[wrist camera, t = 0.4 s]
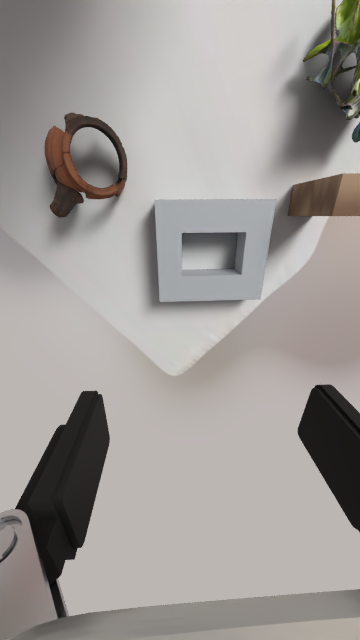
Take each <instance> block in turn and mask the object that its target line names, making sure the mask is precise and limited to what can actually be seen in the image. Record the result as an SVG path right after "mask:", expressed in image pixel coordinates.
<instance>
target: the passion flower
mask: <svg viewBox="0 0 360 640" xmlns="http://www.w3.org/2000/svg"><path fill="white" fill-rule="evenodd" d="M331 14H332V18H331V39H330V40H328V41H326V42H324V43H323V44H320V45H318V46H316V47H315V48H314V49H313V50H311V51H310V52H309V53H308V55H307V56H306V57H305V58H304V60H303V62H305V61H306V60H308V59H310V58H312V57H314V56H316V55H318V54H322V53H324V54H327V55H328V56H329V62H328V64H327V65H326V66H325V67H323V68H322V69H321V71H320V72H319V73H318V74H317V75H316V76H314V77H307V80H310V81H315V82H318V83H321V85H322V87H323V88H324V89H325V88H328V89H329V90H330V92H331V93H332V95H333V96H334V97H335V99H336V101H337V104H338V105H339V107H340V108H341V109H343V112H345V119H347V120H351V119H352V118H358V117H359V116H360V0H343V1H342V3H341V4H340V5H339V6H338V7H337V10H336V13H335V0H332V12H331ZM334 16H335V20H334ZM334 26H335V28H336V35H337V37H336V39H334ZM336 51H340V53H341V60H340V62H339V64H338V66H337V67H336V69H335V70H334V71H333V72H332V62H333V56H334V54H335V52H336ZM352 52H354V53H355V55H356V60H357V65H356V66H353V67H349V68H346V69H343V68H342V64H343V62H344V60H345V59H346V58H347V56H348V55H349V54H351V53H352ZM354 68H356V69H355V73H354V79H353V82H352V91H351V95H350V97H349V98H347V99H346V100H345V101H344V102H342V101H341V100H340V99H339V96H338V94H337V93H336V92H335V90H334V88H333V87H332V82H333V80H334V78H335V77H336V76H337V75H338V74H340V73H343V72H346V71H349V70H351V69H354ZM352 139H353V141H354V142H358V141H360V123H359V124H358V125H357V126H356V128H355V129H354V131H353V134H352Z"/></svg>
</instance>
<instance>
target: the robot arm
mask: <svg viewBox="0 0 360 640" xmlns="http://www.w3.org/2000/svg"><path fill="white" fill-rule="evenodd" d="M298 435H299V437H300V439H301V441H302V443H303V444H304V446H305V448H306V449H307V451H308V453H309V454H310V456H311V458H312V459H313V461H314V463H315V464H316V466H317V467H318V469H319V471H320V473H321V474H322V476H323V478H324V479H325V481H326V483H327V484H328V486H329V488H330V489H331V491H332V493H333V494H334V496H335V498H336V499H337V501H338V503H339V504H340V506H341V508H342V509H343V511H344V513H345V515H346V516H347V518H348V520H349V521H350V523H351V524H352V526H353V527H354V528H356V529H358V530H359V532H360V413H359V412H358V411H357V410H356V409H355V408H354V407H353V406H352V405H351V404H350V403H349V402H348V401H347V400H346V399H345V398H344V397H343V396H342V395H341V394H340V393H339V392H338V391H337V390H336V388H335V387H333V386H332V385H316V386H315V387H314V388H313V389H312V390H311V393H310V396H309V399H308V401H307V404H306V407H305V410H304V413H303V416H302V418H301V421H300V424H299V427H298ZM109 440H110V438H109V431H108V425H107V420H106V414H105V409H104V404H103V397H102V395H101V394H98V392H97V391H83V392H82V393H81V395H80V397H79V399H78V401H77V403H76V405H75V407H74V409H73V411H72V413H71V415H70V417H69V419H68V421H67V423H66V425H60V426H59V427H58V428H57V429H56V431H55V433H54V435H53V437H52V439H51V441H50V442H49V445H48V447H47V448H46V450H45V452H44V454H43V456H42V458H41V460H40V462H39V464H38V466H37V468H36V469H35V471H34V473H33V475H32V477H31V479H30V481H29V483H28V485H27V487H26V489H25V491H24V493H23V495H22V496H21V498H20V500H19V502H18V504H17V506H16V508H15V509H11V510H8V511H4V512H2V513H0V640H360V589H358V590H344V591H332V592H331V591H330V592H317V593H306V594H292V595H279V596H267V597H255V598H243V599H230V600H218V601H206V602H194V603H184V604H171V605H160V606H148V607H138V608H129V609H120V610H111V611H102V612H93V613H86V614H81V615H75V616H70V617H69V615H68V611H67V608H66V604H65V601H64V598H63V594H62V591H61V587H60V584H59V581H58V578H59V576H60V575H61V573H62V570H63V566H64V563H65V560H71V559H75V555H76V552H77V548H81V547H82V546H83V543H84V541H85V537H86V533H87V529H88V525H89V521H90V517H91V513H92V509H93V505H94V501H95V497H96V494H97V489H98V486H99V482H100V478H101V474H102V470H103V466H104V462H105V458H106V454H107V450H108V446H109Z"/></svg>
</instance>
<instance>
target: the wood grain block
mask: <svg viewBox="0 0 360 640" xmlns="http://www.w3.org/2000/svg"><path fill="white" fill-rule="evenodd" d="M288 216H360V174H339V175H335V176H331V177H326V178H322V179H318V180H313V181H309V182H305V183H300V184H296V185H293V190H292V196H291V201H290V207H289V212H288Z"/></svg>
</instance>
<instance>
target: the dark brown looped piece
mask: <svg viewBox="0 0 360 640" xmlns="http://www.w3.org/2000/svg"><path fill="white" fill-rule="evenodd" d="M64 119H65V123H66V129H65V132H63V131H62V130H61V129H59V128H57V127H56V126H53V128H51V129H50V130H49V132H48V135H47V137H46V140H45V157H46V160H47V164H48V167H49V170H50V173H51V175H52V177H53V179H54V181H55V183H56V184H57V190H56V194H55V198H54V200H53V202H52V204H51V205H50V208H51V210H52V212H53V213H54V214H55V215H56V216H58V217H66V216H67V215H68V214H69V213H70V211H71V210H72V209H73V207H74V206H75V205H76V204H77V203H83V202H84V200H83V197H82V195H81V194H80V193H79V192H84V193H85V194H86V198H89V199H105V198H110V197H112V196H114V195H115V196H117V197H118V196H119V195H120V193H121V192H122V190H123V188H124V186H125V182H126V180H127V158H126V154H125V151H124V148H123V147H122V143H121V141H120V139H119V137H118V136H117V135H116V133H115V132H114V131H113V130H112V128H111V127H109V126H108V125H107V124H106V123H104V122H103V121H101V120H100V119H98V118H92V117H88V116H83V115H81V114H75V113H69V114H66V115H65V117H64ZM84 127H93V128H96V129H98V130H99V131H101V132H103V133H104V134H105V135H106V136H107V137H108V138H109V139H110V140H111V142H112V143H113V145H114V147H115V149H116V151H117V154H118V158H119V175H118V178H119V179H118V181H117V182H116V184H115V185H111V186H109V187H107V188H97V187H94V186H91V185H89V184H87V183H86V182H85V181H84V180H83V179H82V178H81V177H80V176H79V174H78V173H77V171H76V169H75V168H74V165H73V163H72V160H71V155H70V144H71V140H72V137H73V135H74V134H75V132H76V131H78V130H79V129H81V128H84Z"/></svg>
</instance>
